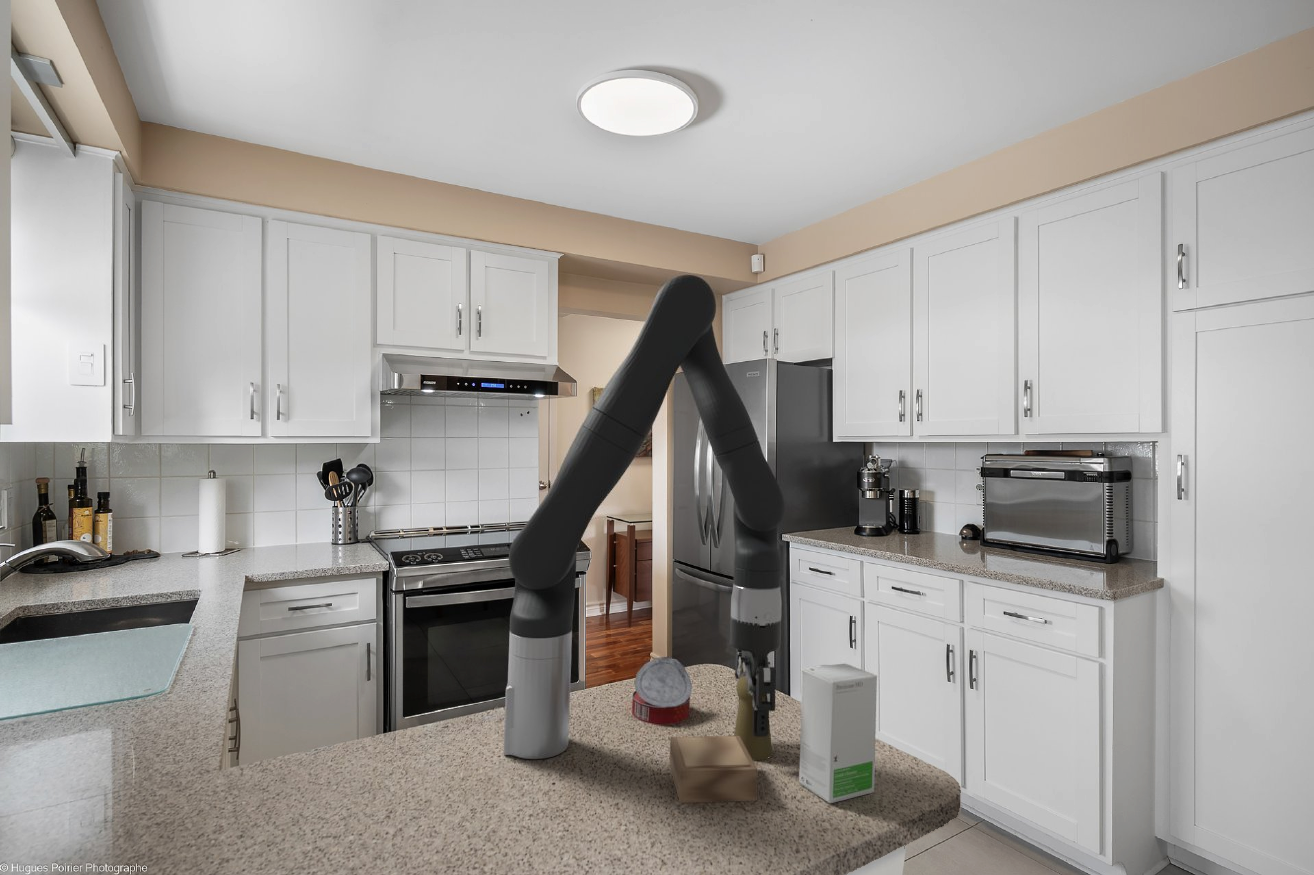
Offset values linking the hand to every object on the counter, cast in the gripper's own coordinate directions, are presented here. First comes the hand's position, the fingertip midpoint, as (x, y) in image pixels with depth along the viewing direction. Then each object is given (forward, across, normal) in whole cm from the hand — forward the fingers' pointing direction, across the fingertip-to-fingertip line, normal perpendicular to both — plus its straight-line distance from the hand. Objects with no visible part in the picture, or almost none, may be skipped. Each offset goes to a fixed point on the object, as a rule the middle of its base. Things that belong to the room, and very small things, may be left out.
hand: (752, 723), depth 100 cm
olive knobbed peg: (+4, 0, 0) cm, 4 cm away
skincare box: (+4, +11, +9) cm, 15 cm away
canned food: (+4, -15, -12) cm, 20 cm away
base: (+4, +9, -8) cm, 13 cm away
